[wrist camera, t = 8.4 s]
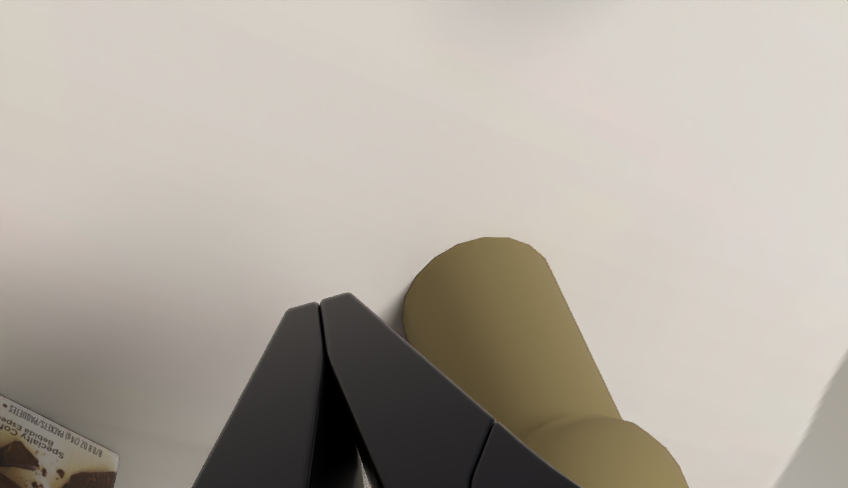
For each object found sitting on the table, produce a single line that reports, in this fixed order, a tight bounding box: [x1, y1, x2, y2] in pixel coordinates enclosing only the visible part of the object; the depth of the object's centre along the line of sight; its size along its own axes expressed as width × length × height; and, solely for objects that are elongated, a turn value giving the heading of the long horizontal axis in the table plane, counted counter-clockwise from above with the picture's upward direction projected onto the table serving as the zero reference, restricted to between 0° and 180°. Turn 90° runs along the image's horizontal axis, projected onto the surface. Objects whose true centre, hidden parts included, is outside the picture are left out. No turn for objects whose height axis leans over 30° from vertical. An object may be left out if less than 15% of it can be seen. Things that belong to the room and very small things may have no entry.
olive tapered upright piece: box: [402, 237, 689, 488], centre depth 20 cm, size 6×6×11 cm
